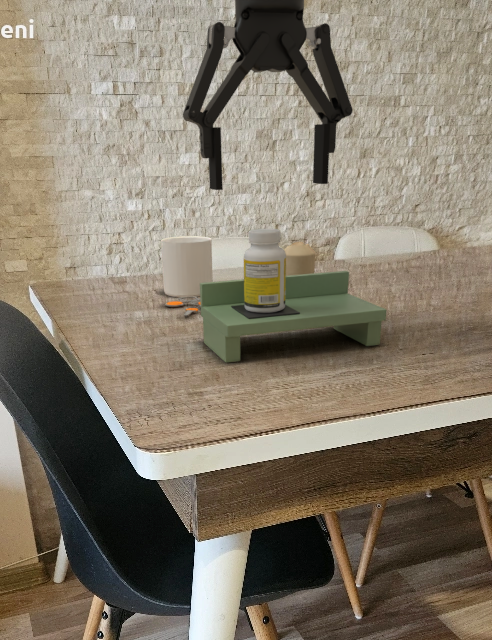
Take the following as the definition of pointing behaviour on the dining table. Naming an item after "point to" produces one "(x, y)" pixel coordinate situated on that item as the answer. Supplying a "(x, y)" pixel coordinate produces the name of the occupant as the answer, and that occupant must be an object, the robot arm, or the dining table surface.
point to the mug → (186, 264)
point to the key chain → (193, 302)
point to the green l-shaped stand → (287, 312)
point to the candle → (299, 259)
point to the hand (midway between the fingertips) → (269, 186)
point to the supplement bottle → (264, 272)
